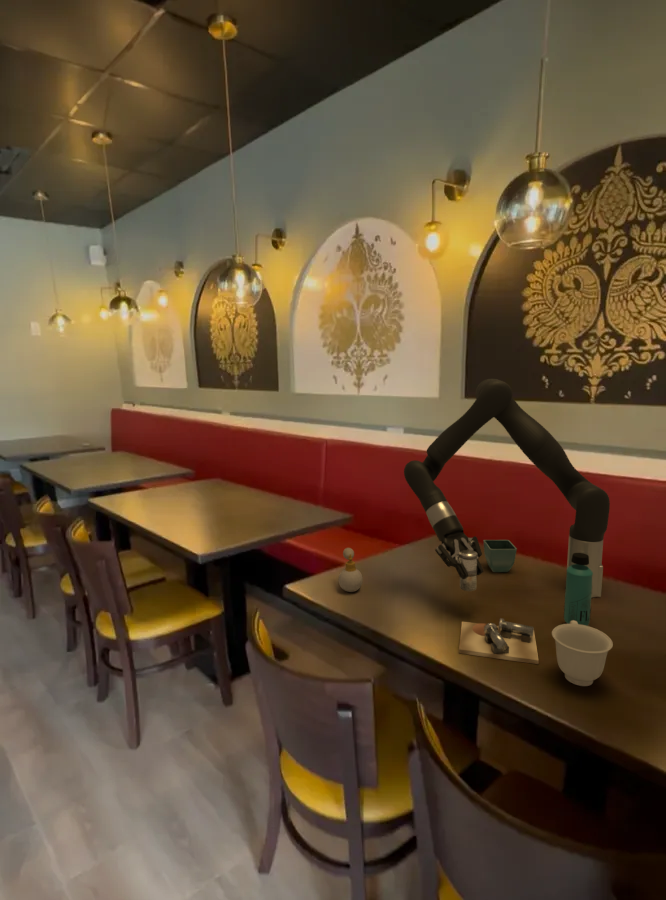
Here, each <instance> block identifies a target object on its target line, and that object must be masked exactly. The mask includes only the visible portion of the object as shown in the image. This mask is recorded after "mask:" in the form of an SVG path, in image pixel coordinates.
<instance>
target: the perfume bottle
mask: <svg viewBox="0 0 666 900" xmlns="http://www.w3.org/2000/svg"><path fill="white" fill-rule="evenodd" d="M342 555H343V558H344V559H346V560H347V561H346V562H345V568H343V570H341V571H340V573H339V575H338V584H339V586H340V588H341V589H342V590H343V591H345V592H347V593H354V592H356V591H358V590H360V588H361V587H362V585H363V580H364V579H363V574H362V573H361V571H360V570H359V569H357V568H356V562H355V561H353V559H354V557H355V551H354V550H353V549H352V548H351V547H346V548H344V550H343V552H342Z"/></svg>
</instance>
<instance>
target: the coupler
mask: <svg viewBox="0 0 666 900" xmlns="http://www.w3.org/2000/svg"><path fill="white" fill-rule="evenodd" d="M477 558H478V554H477V552H475V551H472V550H468V549H467V550H463V551H461V552H460V560H461V564H463V566H464V568H465V570H466V572H467V573H468V577H467V578H466V579H462V578H461V577H460V576H459V589H460V590H463V591H464V592H474V591H476V590H477V580H478V579H477V578H478V577H477V576H478V575H477ZM478 559H479V558H478Z"/></svg>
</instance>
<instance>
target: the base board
mask: <svg viewBox="0 0 666 900" xmlns="http://www.w3.org/2000/svg"><path fill="white" fill-rule="evenodd" d="M486 624H487V623H478V622H477V623H476V622H469V621H461V628H460V636H459V637H460V638H459V647H458V653H459V654H464V655H470V656H475V657H477V656H478V657H484V658H490V659H498V660H499V659H500V660H505V661H512V662H518V663H519V662H520V663H528V664H536V665H539V656H538V655H539V654H538V649H537V648H538V647H537V642H536V636H535V630H533V637H531V639H530V643H527V642H522V641H521V634H516V633H512V636H511V639H508V638H504V637H502V638H503V639H504V640H505V642H506V643H507V645H508V646H509V653H504V654H494V653H493V652H492V650H491V644H487V643H486V641H485V640H484V639H485V632H484V627H485V625H486ZM496 626H497V627H498V629H499V625H496ZM498 632H499V630H498ZM499 633H500V635H501V636H502V632H499Z"/></svg>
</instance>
